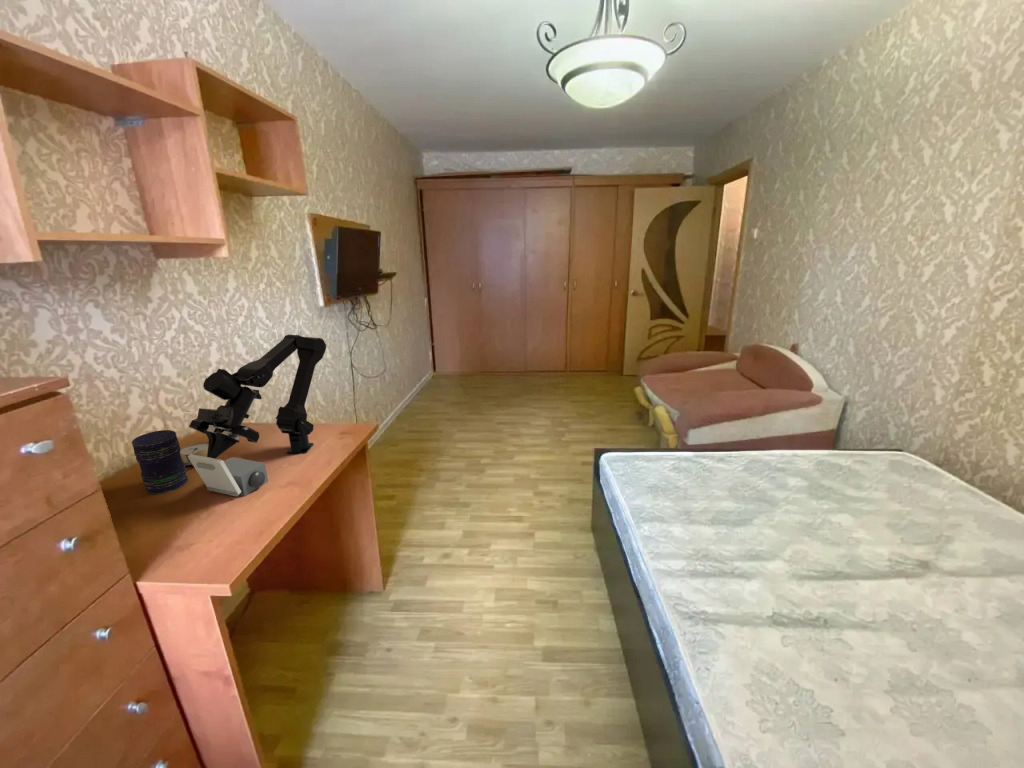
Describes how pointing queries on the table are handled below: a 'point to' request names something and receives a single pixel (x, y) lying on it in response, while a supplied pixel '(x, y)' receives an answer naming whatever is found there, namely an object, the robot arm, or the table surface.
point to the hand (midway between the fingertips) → (209, 460)
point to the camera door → (215, 475)
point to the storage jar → (160, 461)
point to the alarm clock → (193, 451)
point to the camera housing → (247, 474)
